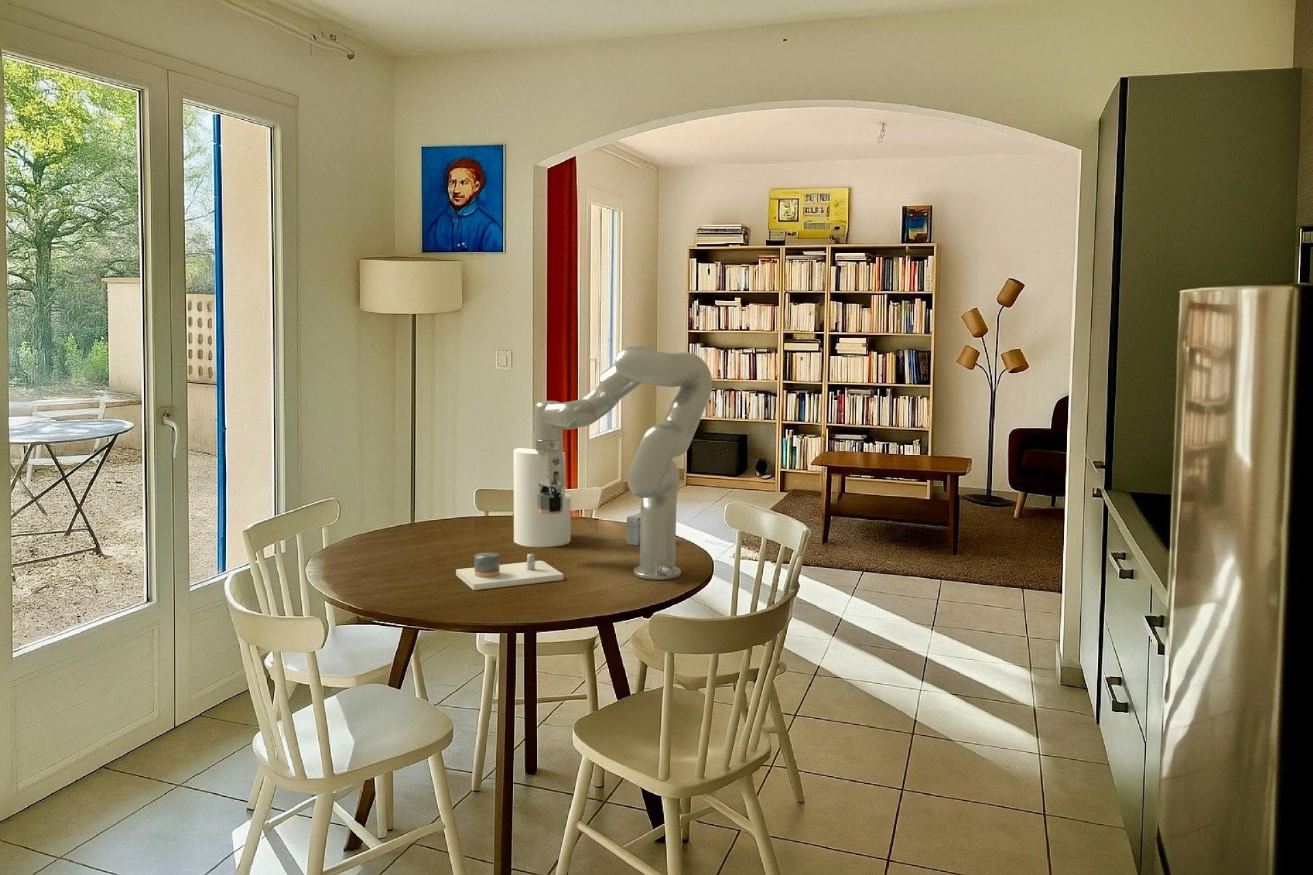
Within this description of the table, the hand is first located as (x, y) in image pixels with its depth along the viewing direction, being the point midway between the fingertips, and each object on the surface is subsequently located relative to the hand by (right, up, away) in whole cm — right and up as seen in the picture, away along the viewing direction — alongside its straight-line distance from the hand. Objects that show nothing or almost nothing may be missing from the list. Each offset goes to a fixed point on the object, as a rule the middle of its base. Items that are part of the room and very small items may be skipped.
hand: (550, 508), depth 275 cm
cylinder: (-5, -12, +26) cm, 29 cm away
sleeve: (0, -1, 0) cm, 1 cm away
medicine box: (+25, -13, +25) cm, 37 cm away
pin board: (-9, -17, -17) cm, 25 cm away
